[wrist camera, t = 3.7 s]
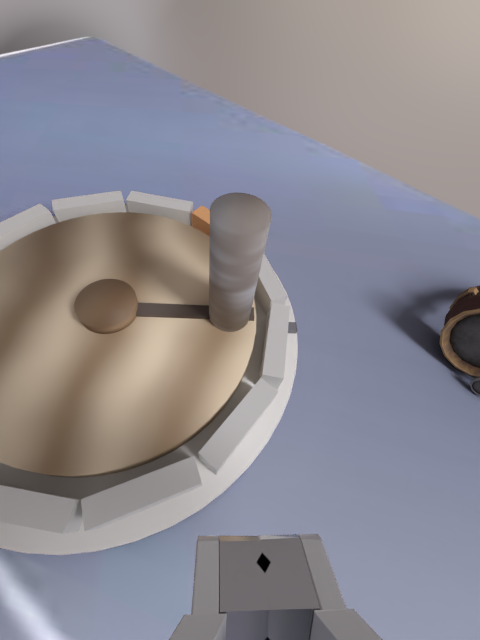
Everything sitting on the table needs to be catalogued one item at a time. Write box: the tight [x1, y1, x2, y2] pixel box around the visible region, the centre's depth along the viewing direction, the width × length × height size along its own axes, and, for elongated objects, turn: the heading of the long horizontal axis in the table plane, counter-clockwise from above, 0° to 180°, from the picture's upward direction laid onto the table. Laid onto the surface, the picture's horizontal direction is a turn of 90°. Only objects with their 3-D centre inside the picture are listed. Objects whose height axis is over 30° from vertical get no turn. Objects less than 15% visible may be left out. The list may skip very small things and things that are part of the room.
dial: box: [0, 193, 272, 478], centre depth 18 cm, size 21×21×10 cm
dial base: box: [0, 191, 298, 555], centre depth 23 cm, size 28×28×4 cm
